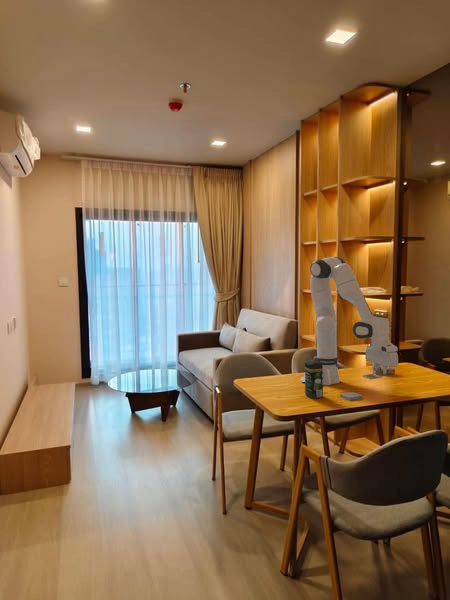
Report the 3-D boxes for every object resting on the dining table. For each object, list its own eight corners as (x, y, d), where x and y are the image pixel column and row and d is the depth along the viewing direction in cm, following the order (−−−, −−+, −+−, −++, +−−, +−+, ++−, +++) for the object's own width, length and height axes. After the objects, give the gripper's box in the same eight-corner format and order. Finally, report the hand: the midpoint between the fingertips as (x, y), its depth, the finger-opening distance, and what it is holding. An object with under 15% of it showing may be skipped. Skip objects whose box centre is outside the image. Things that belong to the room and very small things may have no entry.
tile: (353, 392, 208) (340, 394, 205) (362, 395, 201) (349, 397, 199) (353, 395, 208) (340, 397, 205) (362, 399, 202) (349, 401, 199)
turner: (388, 373, 215) (388, 367, 214) (397, 375, 209) (397, 369, 209) (362, 376, 209) (362, 371, 209) (370, 379, 203) (370, 373, 203)
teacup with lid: (368, 372, 254) (368, 354, 253) (378, 370, 258) (378, 352, 258) (385, 376, 243) (385, 357, 243) (395, 374, 248) (394, 355, 247)
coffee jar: (302, 394, 212) (302, 359, 211) (316, 392, 214) (315, 357, 213) (311, 399, 202) (310, 362, 201) (325, 397, 204) (325, 361, 203)
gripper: (362, 343, 217) (362, 369, 218) (390, 349, 198) (390, 377, 199) (371, 342, 219) (372, 368, 220) (400, 348, 200) (400, 376, 201)
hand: (381, 372), depth 209 cm, fingers closed on turner, 3 cm apart
